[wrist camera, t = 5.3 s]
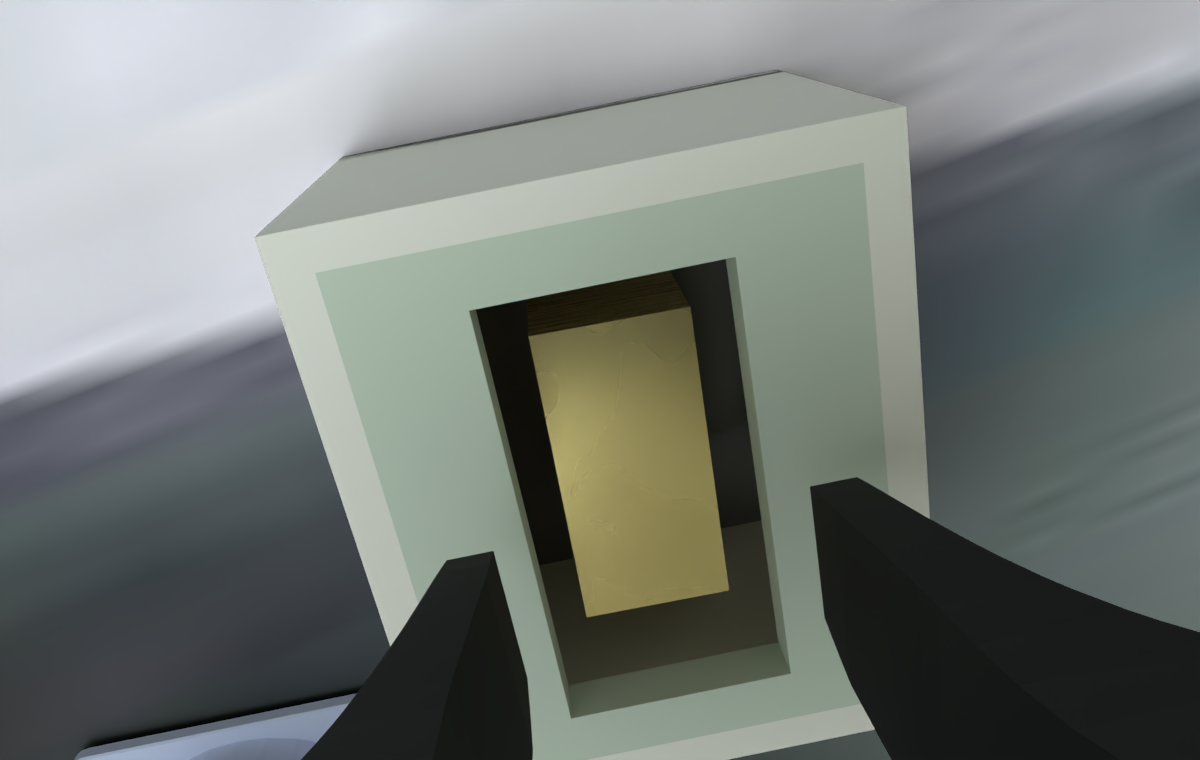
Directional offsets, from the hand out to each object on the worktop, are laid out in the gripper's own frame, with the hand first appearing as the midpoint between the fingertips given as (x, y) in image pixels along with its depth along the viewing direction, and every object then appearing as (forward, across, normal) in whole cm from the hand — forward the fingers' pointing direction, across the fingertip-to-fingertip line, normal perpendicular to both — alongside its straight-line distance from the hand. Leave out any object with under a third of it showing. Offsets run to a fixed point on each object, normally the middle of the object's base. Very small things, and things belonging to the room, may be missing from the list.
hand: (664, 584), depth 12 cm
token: (+8, 0, 0) cm, 8 cm away
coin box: (+8, 0, 0) cm, 8 cm away
